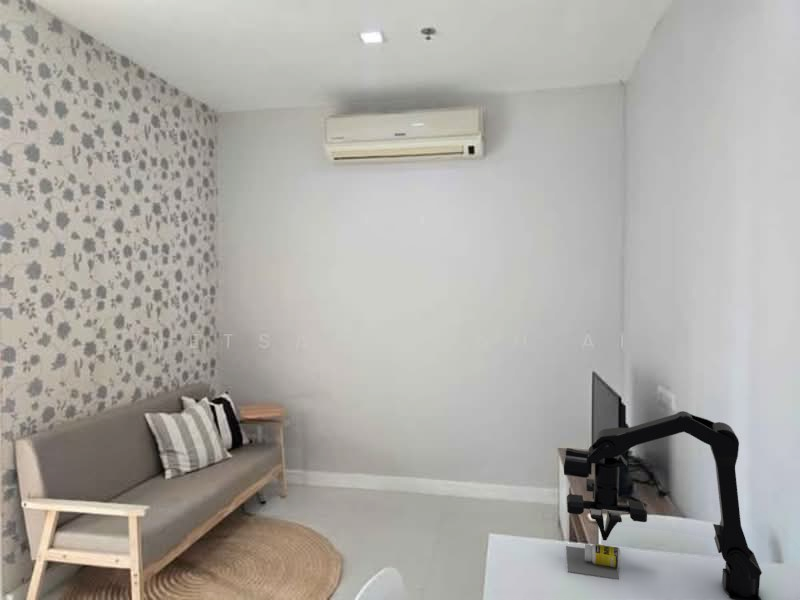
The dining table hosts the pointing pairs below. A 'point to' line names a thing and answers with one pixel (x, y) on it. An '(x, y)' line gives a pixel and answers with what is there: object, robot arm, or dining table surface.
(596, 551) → the supplement bottle
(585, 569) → the mat
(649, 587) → the dining table surface
